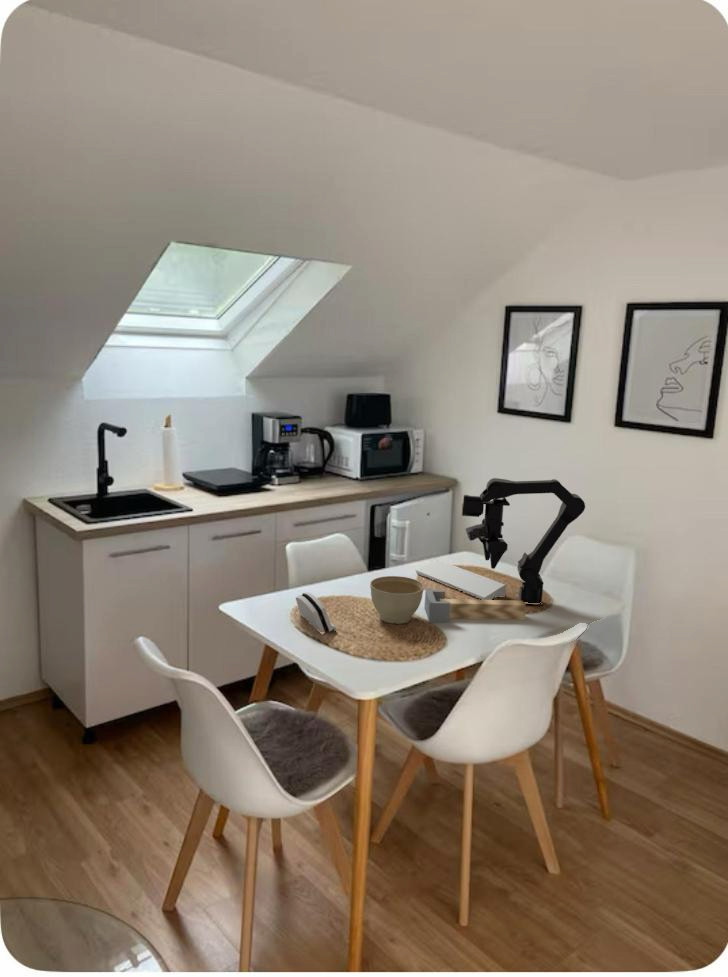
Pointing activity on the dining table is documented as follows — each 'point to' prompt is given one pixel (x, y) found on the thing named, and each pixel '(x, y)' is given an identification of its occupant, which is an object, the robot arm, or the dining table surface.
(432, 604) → the end cap
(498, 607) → the oak slat
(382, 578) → the planter bowl
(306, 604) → the grey black arched block
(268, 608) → the dining table surface
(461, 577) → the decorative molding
